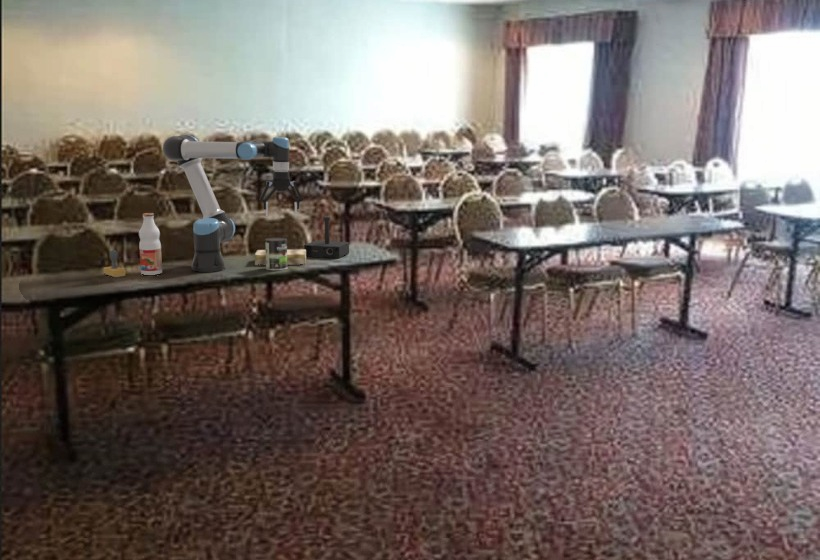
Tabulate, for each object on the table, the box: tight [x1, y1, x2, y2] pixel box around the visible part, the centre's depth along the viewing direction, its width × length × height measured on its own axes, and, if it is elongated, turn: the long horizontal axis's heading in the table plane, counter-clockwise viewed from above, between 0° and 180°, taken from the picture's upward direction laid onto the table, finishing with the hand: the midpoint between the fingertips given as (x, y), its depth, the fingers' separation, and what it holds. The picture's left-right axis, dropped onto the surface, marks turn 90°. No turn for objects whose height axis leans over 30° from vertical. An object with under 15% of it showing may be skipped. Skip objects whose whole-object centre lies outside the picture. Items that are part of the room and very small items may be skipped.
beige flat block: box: [254, 248, 307, 266], centre depth 429 cm, size 24×14×5 cm, turn 95°
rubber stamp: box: [103, 249, 127, 276], centre depth 395 cm, size 10×6×12 cm, turn 46°
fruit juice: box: [138, 212, 163, 275], centre depth 397 cm, size 9×9×28 cm
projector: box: [303, 216, 350, 259], centre depth 446 cm, size 19×17×20 cm
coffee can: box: [264, 237, 289, 271], centre depth 412 cm, size 10×10×14 cm
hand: (281, 216), depth 411 cm, fingers open, 13 cm apart
